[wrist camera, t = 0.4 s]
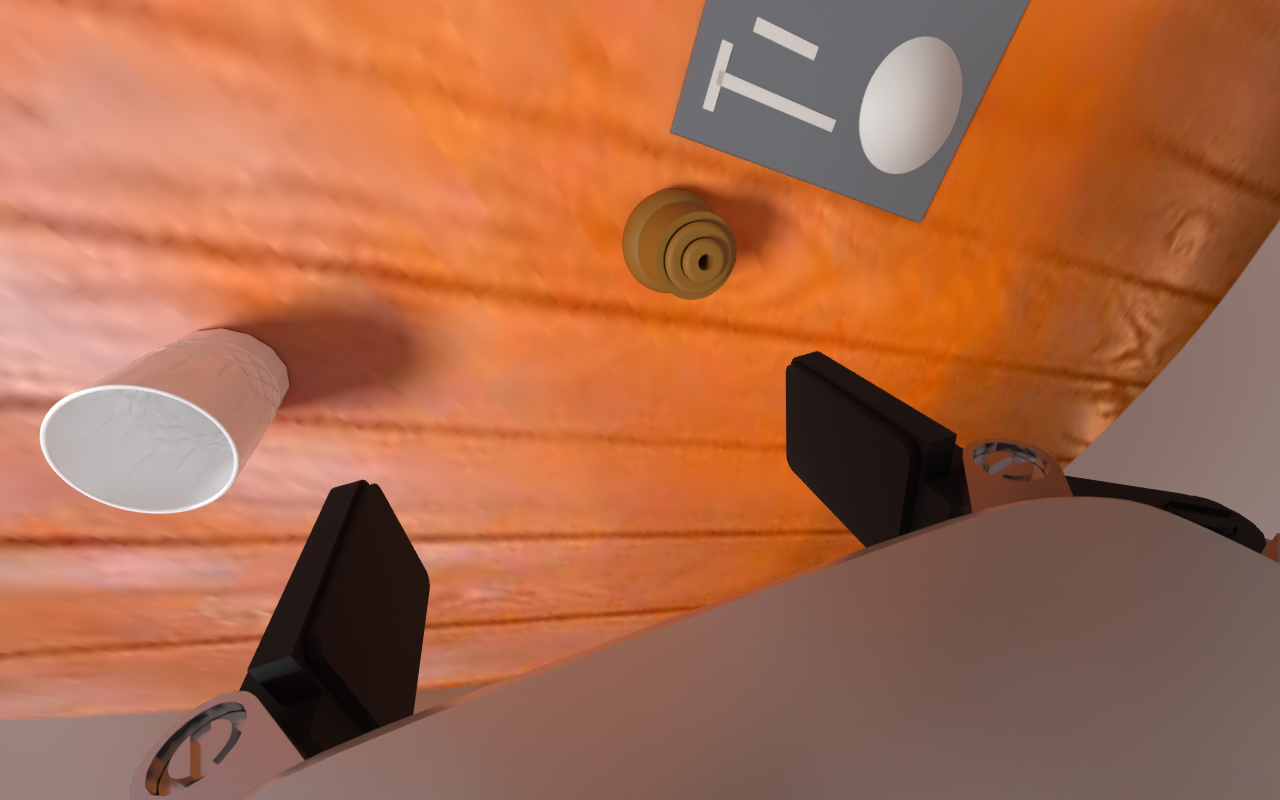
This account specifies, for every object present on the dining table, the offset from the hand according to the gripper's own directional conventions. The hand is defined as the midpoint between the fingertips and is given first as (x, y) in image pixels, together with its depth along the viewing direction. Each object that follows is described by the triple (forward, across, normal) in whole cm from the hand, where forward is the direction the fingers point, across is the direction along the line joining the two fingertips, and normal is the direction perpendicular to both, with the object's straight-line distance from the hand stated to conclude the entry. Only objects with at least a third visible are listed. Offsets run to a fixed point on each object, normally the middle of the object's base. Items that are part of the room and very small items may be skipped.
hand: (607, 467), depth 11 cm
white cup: (+28, +22, +4) cm, 36 cm away
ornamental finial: (+28, -11, +2) cm, 30 cm away
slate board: (+28, -27, -9) cm, 39 cm away
